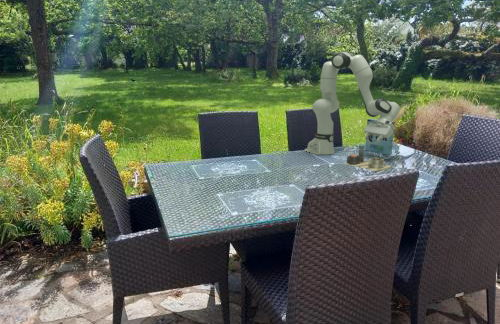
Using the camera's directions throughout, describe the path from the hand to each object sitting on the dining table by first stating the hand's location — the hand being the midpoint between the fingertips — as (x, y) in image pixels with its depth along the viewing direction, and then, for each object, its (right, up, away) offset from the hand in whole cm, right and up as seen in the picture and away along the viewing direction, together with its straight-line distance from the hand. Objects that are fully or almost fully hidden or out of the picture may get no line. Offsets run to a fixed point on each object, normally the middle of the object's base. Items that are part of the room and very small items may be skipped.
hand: (371, 140), depth 272 cm
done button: (-13, -12, -7) cm, 19 cm away
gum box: (+14, -7, +29) cm, 33 cm away
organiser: (-6, -17, -10) cm, 20 cm away
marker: (-7, -14, -1) cm, 16 cm away
